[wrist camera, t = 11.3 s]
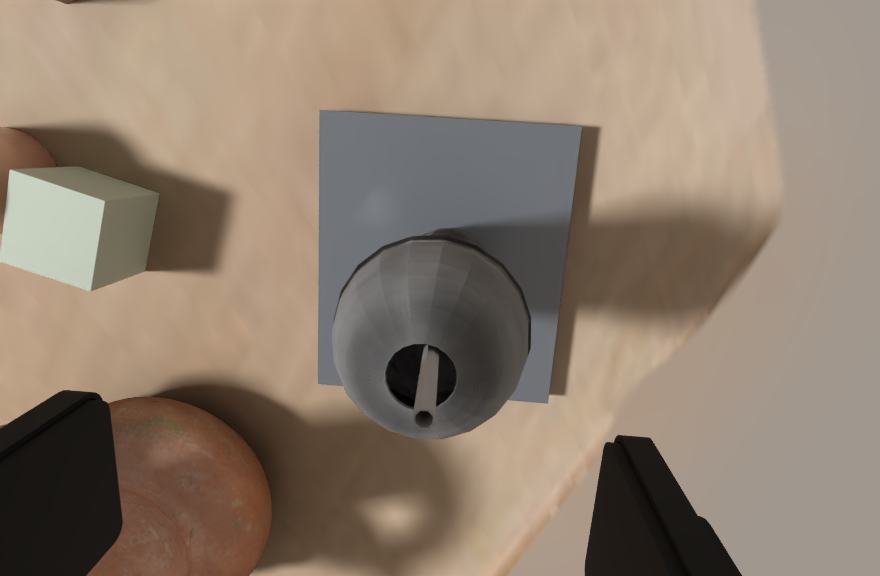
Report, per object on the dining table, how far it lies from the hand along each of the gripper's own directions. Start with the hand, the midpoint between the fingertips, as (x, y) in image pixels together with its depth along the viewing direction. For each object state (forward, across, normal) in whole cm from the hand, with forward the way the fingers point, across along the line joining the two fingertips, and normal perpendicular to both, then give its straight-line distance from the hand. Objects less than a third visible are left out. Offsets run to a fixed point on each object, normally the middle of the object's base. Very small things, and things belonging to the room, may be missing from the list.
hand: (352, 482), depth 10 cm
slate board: (+23, -1, +1) cm, 23 cm away
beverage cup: (+22, -1, +1) cm, 22 cm away
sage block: (+23, +19, 0) cm, 30 cm away
